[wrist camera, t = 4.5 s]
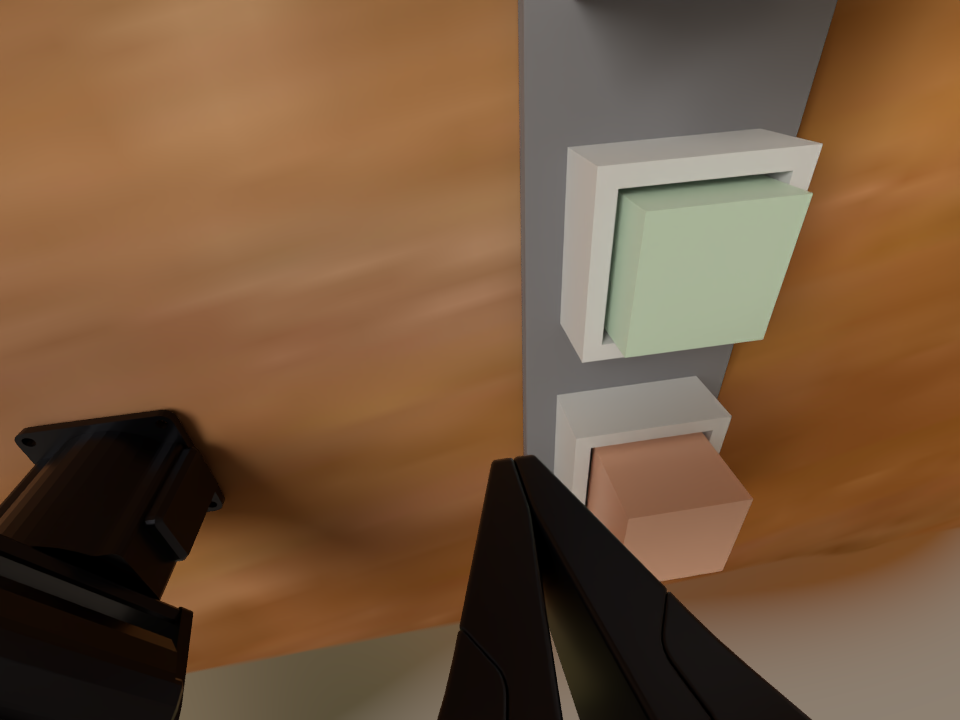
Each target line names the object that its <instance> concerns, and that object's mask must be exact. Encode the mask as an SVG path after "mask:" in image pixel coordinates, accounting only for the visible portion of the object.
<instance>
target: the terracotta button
mask: <svg viewBox="0 0 960 720" xmlns="http://www.w3.org/2000/svg"><path fill="white" fill-rule="evenodd" d="M752 501H753V498H752V497H751V496H750V494H749V493H748V492H747V490H746V489H745V488H744V486H743V485H742V484H741V482H740V481H739V480H738V479H737V477H736V476H735V475H734V473H733V472H732V471H731V469H730V468H729V467H728V465H727V464H726V463H725V461H724V460H723V459H722V458H721V456H720V455H719V454H718V452H717V451H716V450H715V448H714V447H713V446H712V444H711V443H710V442H709V441H708V439H707V438H706V437H705V435H704V434H703V433H702V432H697V433H691V434H684V435H677V436H670V437H663V438H657V439H650V440H643V441H636V442H630V443H623V444H616V445H609V446H602V447H596V448H593V450H592V460H591V469H590V478H589V487H588V496H587V505H586V507H587V508H588V509H589V510H590V511H591V512H592V513H593V514H594V515H595V516H596V517H597V518H598V519H599V520H600V521H601V522H602V523H603V524H604V525H605V526H606V527H607V528H608V529H609V531H610V532H611V533H612V534H613V535H614V536H615V537H616V538H617V539H618V540H619V541H620V542H621V543H622V544H623V545H624V546H625V547H626V548H627V549H628V550H629V551H630V552H631V553H632V554H633V555H634V556H635V557H636V558H637V559H638V560H639V561H640V562H641V563H642V564H643V565H644V566H645V567H646V568H647V569H648V570H649V571H650V572H651V573H652V574H653V575H654V576H655V577H656V578H657V579H658V580H659V581H665V580H671V579H677V578H683V577H689V576H694V575H700V574H706V573H712V572H718V571H722V570H723V568H724V566H725V564H726V561H727V559H728V557H729V554H730V552H731V550H732V547H733V545H734V543H735V540H736V538H737V536H738V533H739V531H740V529H741V526H742V524H743V522H744V519H745V517H746V515H747V512H748V510H749V508H750V505H751V503H752Z"/></svg>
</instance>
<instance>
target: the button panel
mask: <svg viewBox="0 0 960 720" xmlns="http://www.w3.org/2000/svg"><path fill="white" fill-rule="evenodd" d="M836 3H837V0H518V32H519V112H520V193H521V274H522V355H523V436H524V456H525V455H535V456H536V457H537V458H538V459H539V460H540V461H541V462H542V463H543V464H544V465H545V466H546V467H547V468H548V469H549V470H550V471H551V472H552V473H553V474H554V475H555V476H556V477H557V478H558V479H559V480H560V481H561V482H562V483H563V484H564V485H565V486H566V487H567V488H568V489H569V490H570V491H571V492H572V493H573V494H574V495H575V496H576V497H577V498H578V499H579V500H580V501H581V502H582V503H583V504H584V505H585V506H586V505H587V496H588V487H589V478H590V469H591V460H592V450H593V448H596V447H602V446H609V445H616V444H623V443H630V442H636V441H643V440H650V439H657V438H663V437H670V436H677V435H684V434H691V433H697V432H702V433H703V434H704V435H705V437H706V438H707V439H708V441H709V442H710V443H711V444H712V446H713V447H714V448H715V450H716V451H717V452H718V454H719V453H720V450H721V447H722V444H723V441H724V438H725V435H726V432H727V429H728V426H729V423H730V420H731V417H732V416H731V415H730V414H729V413H728V411H727V410H726V409H725V408H724V407H723V406H722V405H721V403H720V402H719V401H718V400H717V398H718V395H719V391H720V388H721V385H722V381H723V378H724V375H725V371H726V368H727V365H728V361H729V358H730V355H731V351H732V348H733V345H734V343H733V344H725V345H718V346H710V347H703V348H695V349H688V350H680V351H673V352H665V353H658V354H650V355H643V356H635V357H628V358H625V357H624V356H623V354H622V353H621V351H620V350H619V348H618V347H617V346H616V344H615V343H614V341H613V340H612V338H611V337H610V336H609V334H608V333H607V331H606V330H605V328H604V320H605V310H606V301H607V292H608V282H609V273H610V263H611V254H612V244H613V235H614V225H615V216H616V207H617V197H618V189H622V188H632V187H641V186H651V185H660V184H670V183H679V182H689V181H699V180H708V179H718V178H727V177H737V176H746V175H756V174H762V175H765V176H768V177H770V178H773V179H776V180H778V181H781V182H784V183H787V184H789V185H792V186H795V187H797V188H800V189H803V190H805V191H807V190H808V187H809V184H810V181H811V178H812V175H813V172H814V169H815V166H816V163H817V160H818V157H819V154H820V151H821V148H822V145H823V144H822V143H818V142H813V141H809V140H805V139H801V138H797V137H796V136H797V133H798V129H799V126H800V123H801V119H802V116H803V113H804V110H805V106H806V103H807V100H808V96H809V93H810V90H811V86H812V83H813V80H814V76H815V73H816V70H817V66H818V63H819V60H820V57H821V53H822V50H823V47H824V43H825V40H826V37H827V33H828V30H829V27H830V23H831V20H832V17H833V13H834V10H835V7H836Z"/></svg>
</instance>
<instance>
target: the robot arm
mask: <svg viewBox="0 0 960 720" xmlns="http://www.w3.org/2000/svg"><path fill="white" fill-rule="evenodd" d="M161 420H163V421H166V422H167V423H165V422H162V421H161ZM15 442H16V444H17V445H18V446H19V447H20V448H21V450H22V451H23V452H24V453H25V454H26V455H27V456H28V457H29V459H30V460H31V461H32V462H33V463H34V464H35V466H34V467H33V468H32V469H31V470H30V472H29V473H28V474H27V475H26V476H25V477H24V478H23V480H22V481H21V482H20V483H19V484H18V485H17V486H16V488H15V489H14V490H13V491H12V492H11V493H10V495H9V496H8V497H7V498H6V499H5V500H4V501H3V503H2V504H1V505H0V720H179V716H180V711H181V707H182V700H183V691H184V683H185V675H186V667H187V659H188V651H189V643H190V635H191V627H192V619H193V612H192V611H190V610H188V609H186V608H183V607H179V608H176V607H174V606H172V605H169V604H167V603H165V602H162V601H160V599H161V597H162V595H163V592H164V590H165V588H166V585H167V583H168V581H169V578H170V576H171V574H172V572H173V569H174V567H175V565H176V562H177V561H183V560H185V559H186V557H187V556H188V555H189V553H190V551H191V548H192V546H193V544H194V541H195V539H196V536H197V534H198V532H199V529H200V527H201V524H202V522H203V520H204V517H205V515H206V513H207V512H209V511H216V510H219V509H220V508H222V505H223V503H224V500H225V497H224V495H223V494H222V492H221V490H220V488H219V487H218V483H217V481H216V480H215V478H214V476H213V475H212V473H211V471H210V469H209V468H208V466H207V464H206V463H205V461H204V459H203V458H202V456H201V454H200V452H199V451H198V450H197V449H196V448H195V446H194V444H193V443H192V441H191V439H190V437H189V436H188V434H187V432H186V431H185V429H184V427H183V426H182V424H181V422H180V420H179V419H178V417H177V416H176V415H175V414H174V413H172V412H171V411H167V410H157V411H150V412H142V413H134V414H127V415H119V416H112V417H104V418H96V419H89V420H81V421H74V422H66V423H58V424H51V425H43V426H36V427H28V428H25V429H23V430H22V431H21V432H20V433H19V434H18V435H17V436H16V437H15ZM549 629H550V631H549ZM550 632H551V635H552V638H553V641H554V644H555V647H556V650H557V653H558V656H559V659H560V662H561V665H562V668H563V671H564V674H565V677H566V680H567V683H568V686H569V689H570V691H571V695H572V698H573V700H574V704H575V707H576V710H577V713H578V716H579V719H580V720H812V719H810V718H809V717H808V716H807V715H806V714H805V713H803V712H802V711H801V710H800V709H799V708H797V707H796V706H795V705H794V704H793V703H792V702H790V701H789V700H788V699H787V698H786V697H784V696H783V695H782V694H781V693H780V692H779V691H778V690H776V689H775V688H774V687H773V686H772V685H770V684H769V683H768V682H767V681H766V680H765V679H763V678H762V677H761V676H760V675H759V674H758V673H756V672H755V671H754V670H753V669H751V668H750V667H749V666H748V665H747V664H746V663H745V662H744V661H743V660H741V659H740V658H739V657H738V656H737V655H735V654H734V653H733V652H732V651H731V650H730V649H729V648H728V647H727V646H725V645H724V644H723V643H722V642H721V641H720V640H719V639H718V638H716V637H715V636H714V635H713V634H712V633H711V632H710V631H709V630H708V629H707V628H706V627H705V626H704V625H703V624H702V623H701V622H700V621H699V620H698V619H697V618H696V617H695V616H694V615H693V614H692V613H691V612H690V611H689V610H687V608H686V607H685V606H683V604H682V603H681V602H680V601H679V600H678V599H677V598H676V597H675V596H674V595H673V594H672V593H671V592H667V589H666V587H665V586H664V585H663V584H662V583H661V582H660V581H659V580H658V579H657V578H656V577H655V576H654V575H653V574H652V573H651V572H650V571H649V570H648V569H647V568H646V567H645V566H644V565H643V564H642V563H641V562H640V561H639V560H638V559H637V558H636V557H635V556H634V555H633V554H632V553H631V552H630V551H629V550H628V549H627V548H626V547H625V546H624V545H623V544H622V543H621V542H620V541H619V540H618V539H617V538H616V537H615V536H614V535H613V534H612V533H611V532H610V531H609V529H608V528H607V527H606V526H605V525H604V524H603V523H602V522H601V521H600V520H599V519H598V518H597V517H596V516H595V515H594V514H593V513H592V512H591V511H590V510H589V509H588V508H587V507H586V506H585V505H584V504H583V503H582V502H581V501H580V500H579V499H578V498H577V497H576V496H575V495H574V494H573V493H572V492H571V491H570V490H569V489H568V488H567V487H566V486H565V485H564V484H563V483H562V482H561V481H560V480H559V479H558V478H557V477H556V476H555V475H554V474H553V473H552V472H551V471H550V470H549V469H548V468H547V467H546V466H545V465H544V464H543V463H542V462H541V461H540V460H539V459H538V458H537V457H536V456H535V455H525V456H519V457H515V458H514V460H513V459H512V458H505V459H498V460H494V461H493V462H492V464H491V468H490V474H489V479H488V484H487V489H486V494H485V499H484V504H483V509H482V514H481V519H480V525H479V530H478V535H477V540H476V545H475V550H474V555H473V560H472V565H471V570H470V576H469V581H468V586H467V591H466V596H465V601H464V606H463V611H462V616H461V621H460V631H459V632H458V635H457V640H456V646H455V651H454V656H453V660H452V665H451V669H450V673H449V678H448V682H447V686H446V691H445V695H444V698H443V701H442V706H441V708H440V712H439V715H438V719H437V720H563V717H562V710H561V704H560V697H559V691H558V684H557V677H556V671H555V664H554V658H553V652H552V645H551V638H550Z"/></svg>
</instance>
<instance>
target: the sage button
mask: <svg viewBox="0 0 960 720" xmlns="http://www.w3.org/2000/svg"><path fill="white" fill-rule="evenodd" d="M812 195H813V193H811V192H808V191H805V190H803V189H800V188H797V187H795V186H792V185H789V184H787V183H784V182H781V181H778V180H776V179H773V178H770V177H768V176H765V175H762V174H756V175H746V176H737V177H727V178H718V179H708V180H699V181H689V182H679V183H670V184H660V185H651V186H641V187H632V188H622V189H618V197H617V207H616V216H615V225H614V235H613V244H612V254H611V263H610V273H609V282H608V292H607V301H606V310H605V320H604V328H605V330H606V331H607V333H608V334H609V336H610V337H611V338H612V340H613V341H614V343H615V344H616V346H617V347H618V348H619V350H620V351H621V353H622V354H623V356H624V357H625V358H628V357H635V356H643V355H650V354H658V353H665V352H673V351H680V350H688V349H695V348H703V347H710V346H718V345H725V344H733V343H740V342H748V341H755V340H763V338H764V335H765V332H766V329H767V326H768V323H769V320H770V317H771V314H772V312H773V309H774V306H775V303H776V300H777V297H778V294H779V291H780V288H781V285H782V282H783V279H784V277H785V274H786V271H787V268H788V265H789V262H790V259H791V256H792V253H793V250H794V247H795V244H796V242H797V239H798V236H799V233H800V230H801V227H802V224H803V221H804V218H805V215H806V212H807V209H808V206H809V204H810V201H811V198H812Z"/></svg>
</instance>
